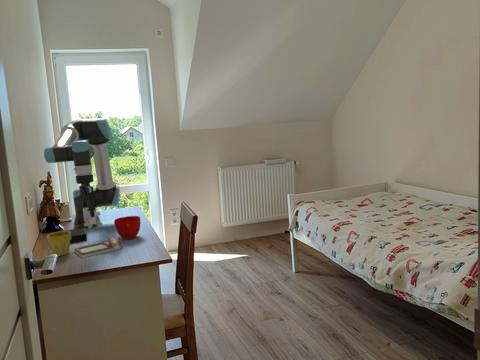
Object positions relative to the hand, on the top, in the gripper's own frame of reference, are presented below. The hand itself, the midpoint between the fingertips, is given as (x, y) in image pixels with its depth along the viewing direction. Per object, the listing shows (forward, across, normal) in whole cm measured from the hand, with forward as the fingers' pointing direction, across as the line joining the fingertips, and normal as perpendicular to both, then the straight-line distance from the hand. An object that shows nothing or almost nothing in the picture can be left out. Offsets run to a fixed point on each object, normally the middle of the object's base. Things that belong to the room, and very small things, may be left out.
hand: (90, 222), depth 208 cm
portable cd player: (+15, -34, -3) cm, 37 cm away
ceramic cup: (+14, -8, +21) cm, 26 cm away
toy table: (+2, 0, +1) cm, 3 cm away
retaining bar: (+11, +6, +8) cm, 14 cm away
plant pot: (+14, -8, -13) cm, 21 cm away
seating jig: (+14, 0, +2) cm, 14 cm away
